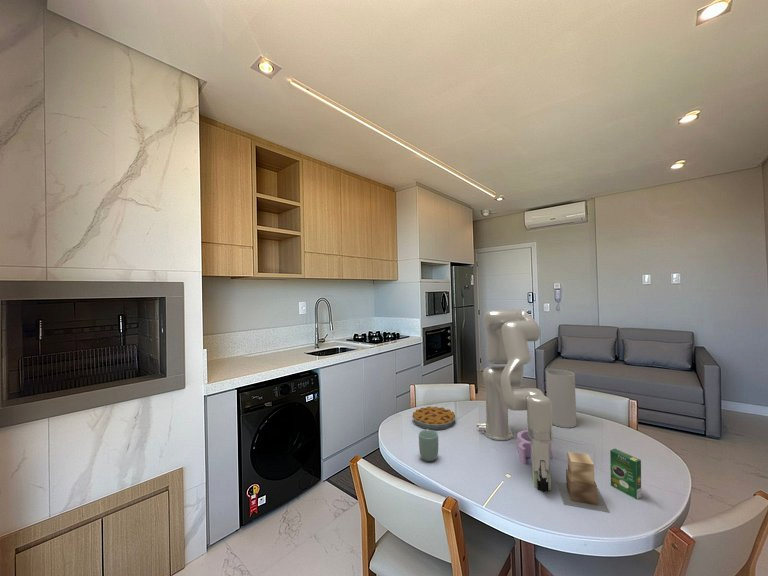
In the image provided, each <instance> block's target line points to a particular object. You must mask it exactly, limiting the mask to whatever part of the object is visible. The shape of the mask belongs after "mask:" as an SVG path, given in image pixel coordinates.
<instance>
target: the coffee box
mask: <svg viewBox="0 0 768 576" xmlns="http://www.w3.org/2000/svg"><path fill="white" fill-rule="evenodd" d="M609 455H610V460H609V461H610V465H609V466H610V486H611V487H613V489H614V488H615V489H616V490H618V491H620V492H622V493H624V494H625V495H628V496H629V497H631V498H633V499H634V500H638V499H641V497H642V460H641V459H639V458H637V457H635V456H632V455H630V454H629V453H626V452H624V451H622V450H619V449H617V448H612V449H610V452H609Z"/></svg>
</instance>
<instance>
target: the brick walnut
mask: <svg viewBox="0 0 768 576" xmlns="http://www.w3.org/2000/svg"><path fill="white" fill-rule="evenodd" d="M565 477H566V478H565V480H566V481H565V483H566V484H567V490H568V493H569V496H570V499H571V501H575V502H580V503H586V504H592V505H597V506H598V500H597V488H598V485H597V482H596V480H594V482H595V484H589V483H583V482H577V481H572V479H571V477H570V474H569V472H568V468H566V470H565Z"/></svg>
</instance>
